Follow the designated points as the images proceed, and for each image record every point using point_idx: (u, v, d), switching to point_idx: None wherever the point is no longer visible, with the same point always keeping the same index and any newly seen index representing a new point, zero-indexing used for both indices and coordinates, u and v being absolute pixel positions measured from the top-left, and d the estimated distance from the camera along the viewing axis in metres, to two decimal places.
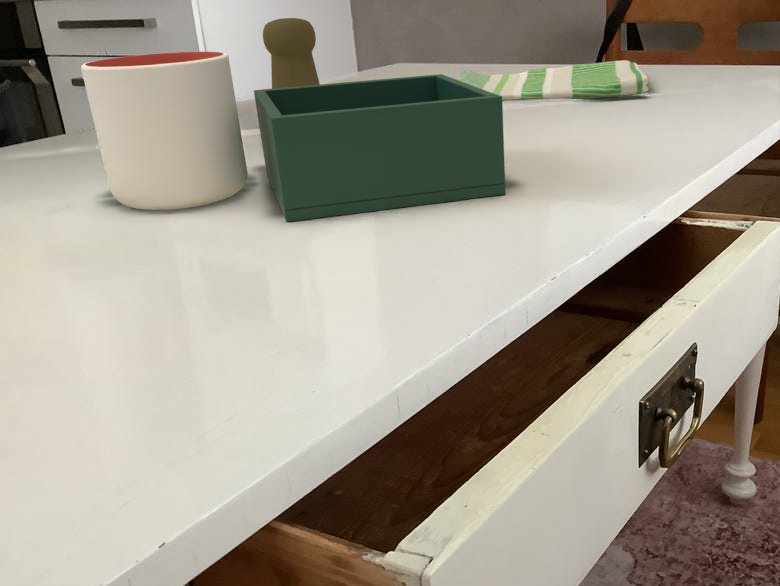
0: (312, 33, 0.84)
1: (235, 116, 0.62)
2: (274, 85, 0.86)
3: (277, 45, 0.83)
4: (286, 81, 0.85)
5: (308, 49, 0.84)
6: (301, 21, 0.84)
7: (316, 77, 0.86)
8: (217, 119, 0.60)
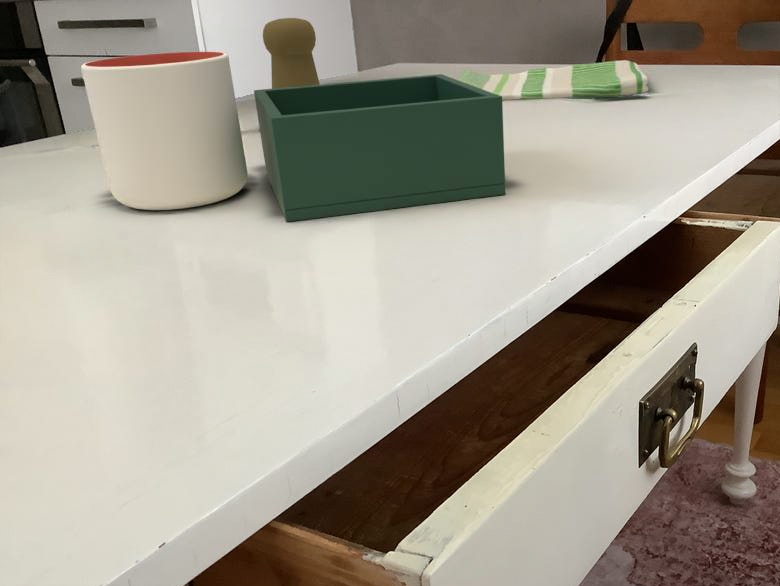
0: (312, 33, 0.84)
1: (235, 116, 0.62)
2: (274, 85, 0.86)
3: (277, 45, 0.83)
4: (286, 81, 0.85)
5: (308, 49, 0.84)
6: (301, 21, 0.84)
7: (316, 77, 0.86)
8: (217, 119, 0.60)
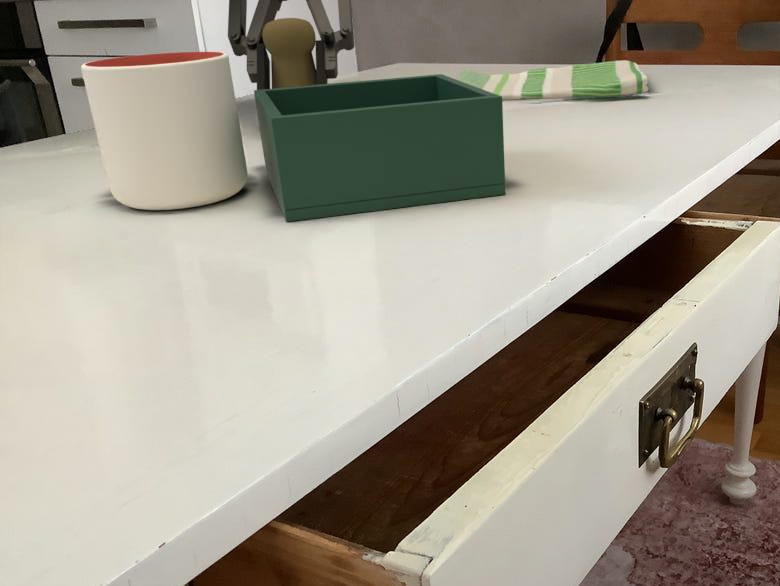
0: (312, 33, 0.84)
1: (235, 116, 0.62)
2: (274, 85, 0.86)
3: (277, 45, 0.83)
4: (286, 81, 0.85)
5: (307, 49, 0.84)
6: (301, 21, 0.84)
7: (316, 77, 0.86)
8: (217, 119, 0.60)
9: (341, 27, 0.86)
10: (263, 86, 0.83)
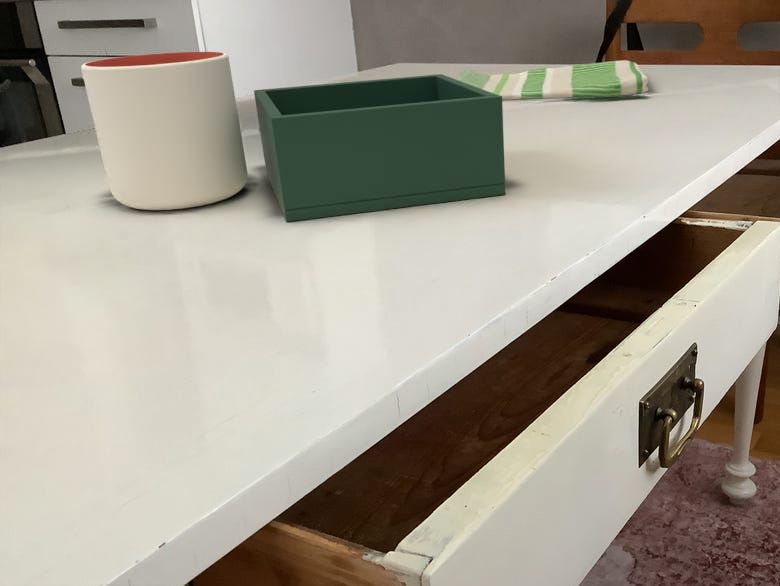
0: None
1: (235, 116, 0.62)
2: None
3: None
4: None
5: None
6: None
7: None
8: (217, 119, 0.60)
9: None
10: None
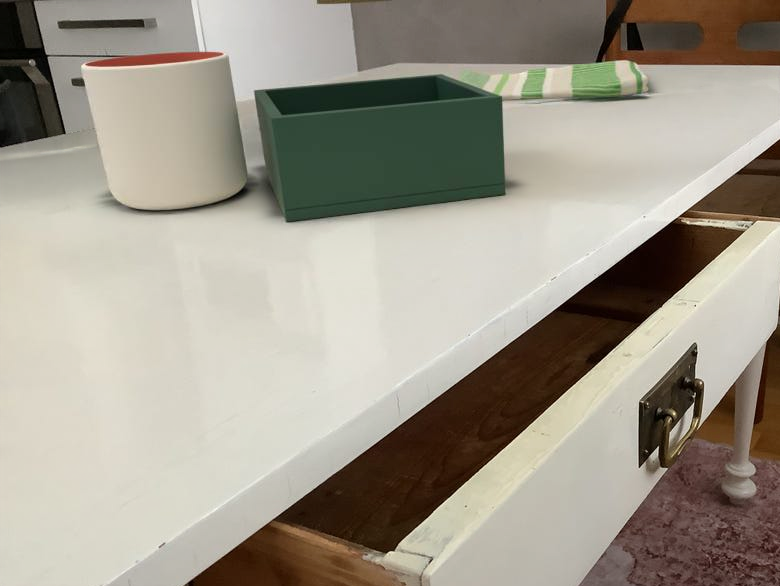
0: None
1: (235, 116, 0.62)
2: None
3: None
4: None
5: None
6: None
7: None
8: (217, 119, 0.60)
9: None
10: None
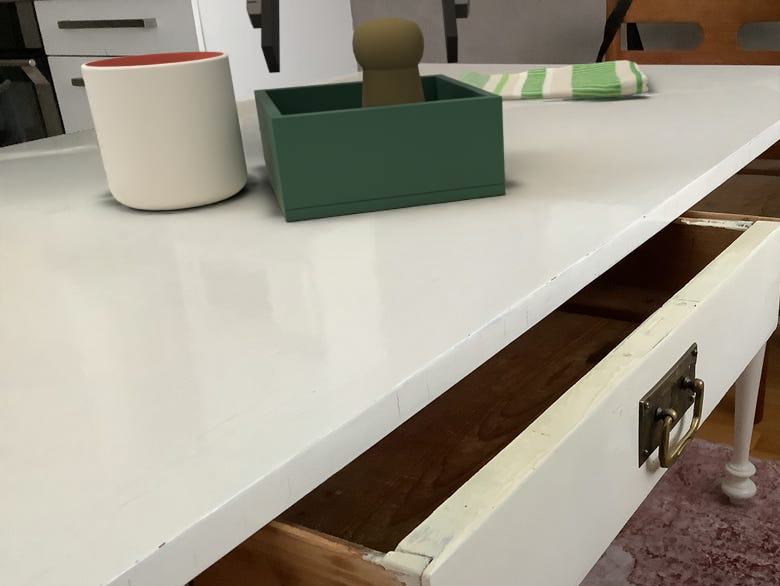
0: (422, 39, 0.61)
1: (235, 116, 0.62)
2: None
3: (375, 56, 0.59)
4: None
5: (416, 61, 0.61)
6: (408, 22, 0.60)
7: (423, 99, 0.63)
8: (217, 118, 0.60)
9: None
10: (270, 31, 0.58)
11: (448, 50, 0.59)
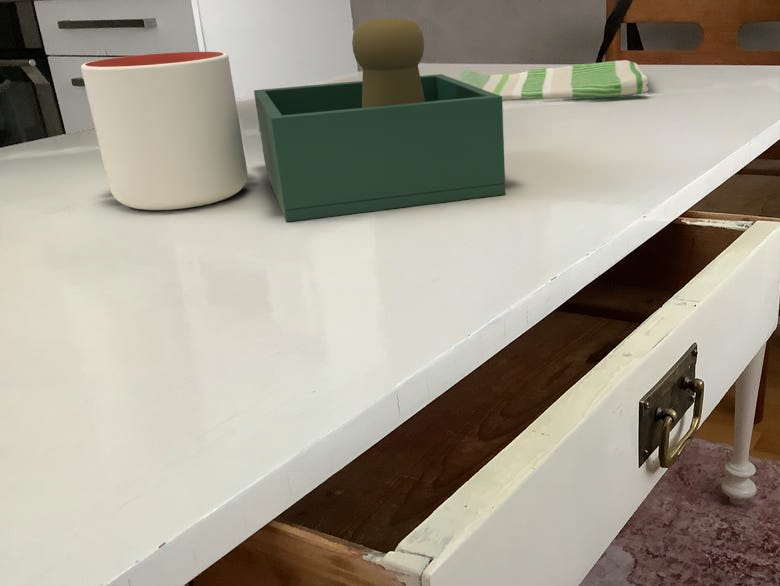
0: (422, 39, 0.61)
1: (235, 116, 0.62)
2: None
3: (375, 56, 0.59)
4: None
5: (416, 61, 0.61)
6: (408, 22, 0.60)
7: (423, 99, 0.63)
8: (217, 119, 0.60)
9: None
10: None
11: None
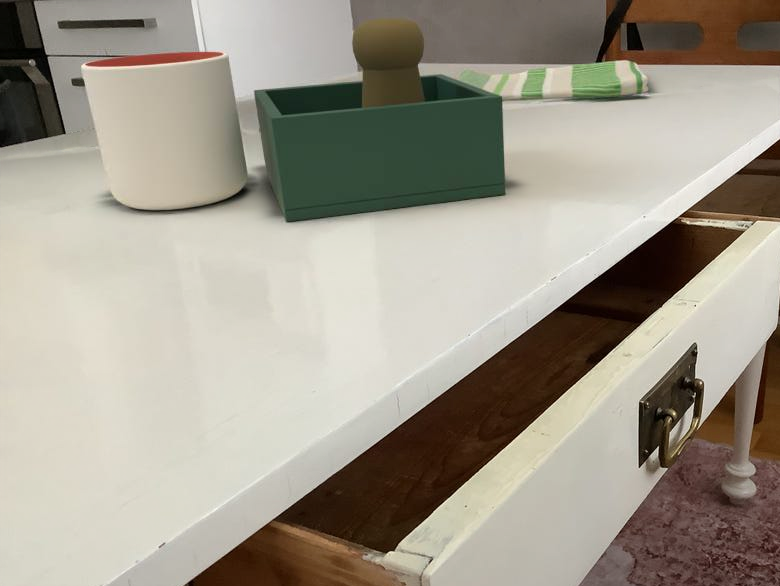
0: (422, 39, 0.61)
1: (235, 116, 0.62)
2: None
3: (375, 56, 0.59)
4: None
5: (416, 61, 0.61)
6: (408, 22, 0.60)
7: (423, 99, 0.63)
8: (217, 119, 0.60)
9: None
10: None
11: None
